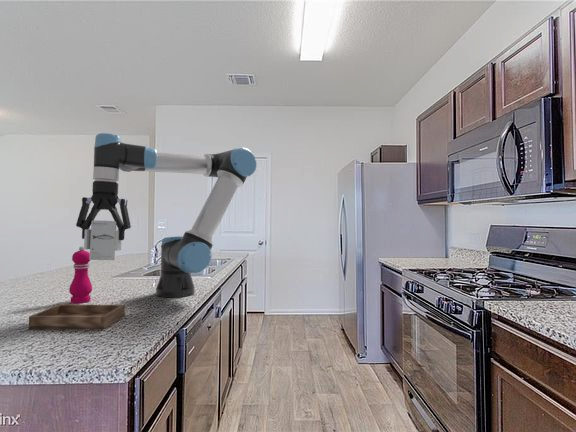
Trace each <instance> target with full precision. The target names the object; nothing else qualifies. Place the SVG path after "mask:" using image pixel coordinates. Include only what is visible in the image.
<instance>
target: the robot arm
mask: <svg viewBox="0 0 576 432" xmlns="http://www.w3.org/2000/svg"><path fill="white" fill-rule="evenodd" d="M94 138H95V139H94V147H93V173H92V180H94V181H92V195H91V197H85V196H84V197H82V198H81V208H80V211H79V214H78V218H77V220H76V224H75V226H76V227H78V228H80V229H81V231H82V232H81V239H82V240H84V241H83V242H84V243H83V247H84V251H88V250H90V239H91V223H92V220H95V218H96V217H97V215H98V214H99V212H100V211H102V210H104V211H107V210H108V211H109V213H110V214H111V216H112V219H113V221H116V228H117V229H116V239H115V252H117V251H118V252H119V251H121V250H122V241H124V239H125V231H126V230H129V229H131V228H132V225H131V222H130V217H129V211H128V207H127V206H128V199H126V198H119V197H118V196H119V195H118V194H119V183H118V182H119V179H120V178H119V175H120V171H123V172H125V173H126V172H127V173H129V172H150V173H151V172H155V173H159V172H160V173H171V174H172V173H178V174H197V175H203V176H204V177H209V178H211V177H212V178H217V179H216V181H215V183H214V185H213V187H212V189H211V190H210V193H209V195H208V197H207V199H205V200H206V201H205V203H204V204H203V206H202V207H201V210H200V212H199V214H198V216H197V218H196V219H195V222H194V223H193V225H192V227H191V229H189V230H187V231H185V232H184V234H183V235H181V236H178V235H177V236H168V237H164V238H162V240H161V245H160V247H161V248H160V249H161V251H160V253H161V255H160V256H161V257H160V259H161V260H160V277H159V279H158V282H157V285H156V288H155V296H157V297H162V298H180V297H188V296H189V297H190V296H192V295H195V293H196V292H195V291H196V289H195V284H194V281H193V277H192V274H198V273H201V272H202V271H204V270H205V269H206V268H208V267H209V265H210V263H211V260H212V252H211V250H212V248H213V246H214V244H213V237H214V235H215V234H216V231H217V229H218V227H219V225H220V223H221V222H222V219H223V218H224V215H225V213H226V211H227V209H228V207H229V205H230V203H231V201H232V200H233V197H234V195H235V193H236V191H237V190H238V188H240V187H243V186H244V185H245V184H244V183H245V182H246V180H247V178H248V177H250V176H252V175H253V174H254V173H255V171H256V169H257V160H256V157H255V154H254V153H253V152H252V151H251V150H250V149H249V148H246V147H236V148H234V149H230V150H227V151H226V150H225V151H223V152H219V153H218V152H217V153H205V154H204V155H194V154H193V155H191V154H180V153H167V152H165V153H164V152H157V151H158V150H157V149H156V148H154V147H150V146H147V145H137V144H131V143H125V142H122V140H121V137H120V136H119V135H117V134H113V133H106V132H102V133H98V134H96V135H95V137H94ZM92 203H93V205H92V207H91V210H90V206H91V204H92ZM117 204H118V205H119V208H120V213H121V216H120V214H119V212H118V208H117V206H116V205H117ZM89 210H90V212H89Z"/></svg>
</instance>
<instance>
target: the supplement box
mask: <svg viewBox="0 0 576 432" xmlns="http://www.w3.org/2000/svg"><path fill="white" fill-rule="evenodd" d="M90 229H91V239H90V249H89V253H90V257H89V260H90V261H114V260H115V259H116V258H115V256H116V254H115V253H116V251H115V239H116V231H117V225H116V221H114V220H95V219H94V220H92V223H91V226H90Z"/></svg>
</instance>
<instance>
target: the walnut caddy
mask: <svg viewBox="0 0 576 432" xmlns="http://www.w3.org/2000/svg"><path fill="white" fill-rule="evenodd" d="M125 316H126V305H125V304H78V303H71V304H67V303H66V304H60V303H59V304H56V305H54V306H51V307H49V308H46V309H45V310H42V311H40V312H37V313H35V314H32V315H29V316H28V330H31V331H32V330H33V331H34V330H38V331H39V330H41V331H42V330H45V331H46V330H50V331H51V330H52V329H53V330H52V331H55V330H56V331H59V330H61V331H62V330H64V329H65V330H66V329H90V330H89V331H96V330H95V329H105V330H107V329H108V328H110V327H111V326H112V325H113V323H114V324H115V323H117V322H118V321H120V320H122V319H123V318H124V317H125ZM110 325H111V326H110ZM107 327H108V328H107ZM54 329H55V330H54ZM91 329H92V330H91ZM65 330H64V331H65Z"/></svg>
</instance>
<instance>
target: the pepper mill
mask: <svg viewBox="0 0 576 432" xmlns="http://www.w3.org/2000/svg"><path fill="white" fill-rule="evenodd" d="M89 257H90V251H88V250H84V245H81V246H79V248H78V251H75V252H74V253H73V254H72V256H71V261H72V262H73V263H74V264H73V269H74V275H73V279H72V281H71V282H70V285H69V290H68V293H69V294H70V295H72V296H71V297H70V303H71V304H85V303H89V302H91V300H92V299H91V295H90V294H91V293H92V291H93V284H92V282H91V279H90V277H89V268H90V263H89V262H91V260H89Z"/></svg>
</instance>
